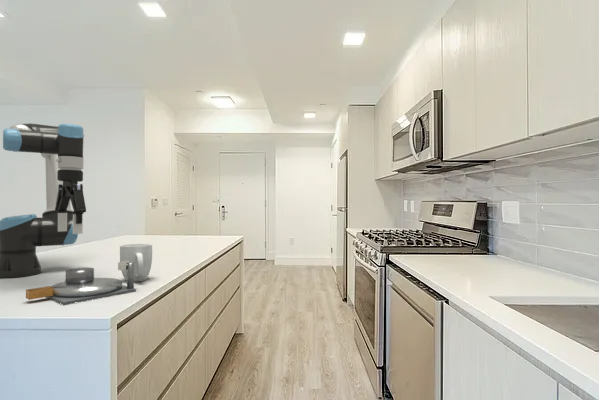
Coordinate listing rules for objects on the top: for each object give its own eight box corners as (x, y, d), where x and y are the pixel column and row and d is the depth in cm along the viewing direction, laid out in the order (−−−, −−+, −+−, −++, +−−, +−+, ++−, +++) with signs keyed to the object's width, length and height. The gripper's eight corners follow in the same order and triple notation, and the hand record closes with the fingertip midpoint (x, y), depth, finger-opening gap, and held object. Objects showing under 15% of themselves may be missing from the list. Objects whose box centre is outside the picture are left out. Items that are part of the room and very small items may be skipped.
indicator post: (113, 290, 121) (114, 261, 121) (127, 288, 125) (128, 260, 125) (120, 293, 119) (121, 263, 119) (135, 290, 122) (135, 261, 122)
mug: (157, 283, 133) (157, 246, 133) (123, 286, 127) (124, 248, 127) (148, 276, 146) (148, 242, 146) (117, 279, 140) (117, 244, 140)
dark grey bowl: (61, 282, 122) (61, 269, 122) (87, 278, 128) (87, 266, 128) (71, 285, 117) (71, 272, 117) (98, 281, 123) (98, 269, 123)
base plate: (37, 293, 117) (37, 290, 117) (105, 282, 134) (105, 280, 134) (63, 305, 104) (63, 302, 104) (135, 291, 121) (135, 288, 121)
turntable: (16, 293, 113) (16, 285, 113) (105, 279, 133) (105, 272, 133) (39, 305, 100) (40, 296, 100) (133, 288, 121) (133, 280, 121)
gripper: (44, 170, 133) (44, 230, 133) (73, 167, 118) (72, 235, 118) (68, 171, 139) (67, 229, 139) (97, 169, 124) (97, 234, 124)
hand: (69, 232), depth 129 cm, fingers open, 12 cm apart
